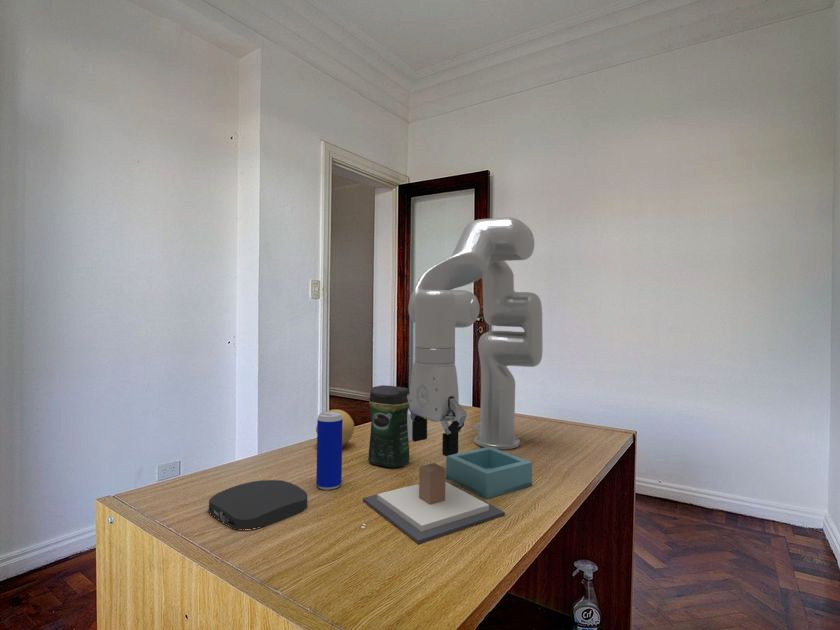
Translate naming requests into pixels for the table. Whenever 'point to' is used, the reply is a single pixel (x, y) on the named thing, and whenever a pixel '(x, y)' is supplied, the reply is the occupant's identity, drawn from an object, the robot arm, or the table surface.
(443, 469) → the lid
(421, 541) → the mat
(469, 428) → the table surface
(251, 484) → the media streaming box
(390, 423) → the coffee jar
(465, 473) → the square tray
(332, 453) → the beverage can
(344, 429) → the stress ball
